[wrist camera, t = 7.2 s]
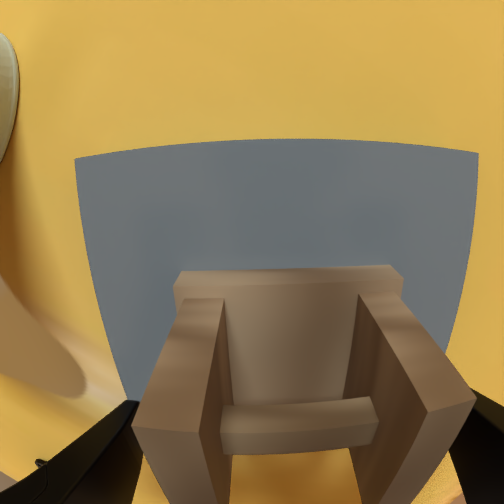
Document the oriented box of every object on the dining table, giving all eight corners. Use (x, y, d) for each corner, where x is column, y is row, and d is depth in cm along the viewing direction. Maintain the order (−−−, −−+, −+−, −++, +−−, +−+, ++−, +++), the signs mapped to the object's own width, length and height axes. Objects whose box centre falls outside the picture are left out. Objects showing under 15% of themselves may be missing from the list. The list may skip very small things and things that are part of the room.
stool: (201, 402, 12) (178, 531, 6) (181, 270, 10) (109, 408, 4) (365, 394, 12) (408, 514, 6) (390, 264, 10) (494, 379, 4)
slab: (155, 421, 16) (147, 447, 14) (100, 155, 11) (74, 158, 9) (402, 410, 15) (413, 434, 13) (450, 149, 11) (478, 152, 9)
